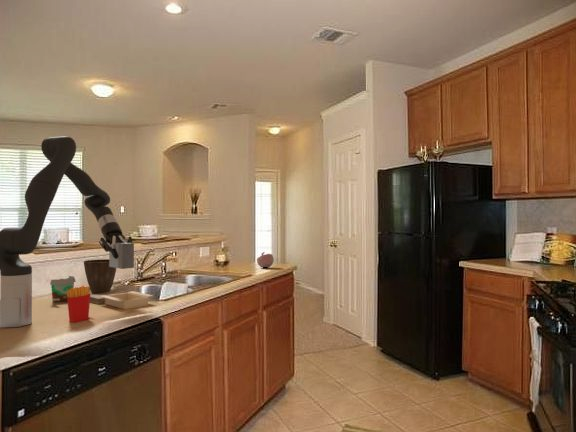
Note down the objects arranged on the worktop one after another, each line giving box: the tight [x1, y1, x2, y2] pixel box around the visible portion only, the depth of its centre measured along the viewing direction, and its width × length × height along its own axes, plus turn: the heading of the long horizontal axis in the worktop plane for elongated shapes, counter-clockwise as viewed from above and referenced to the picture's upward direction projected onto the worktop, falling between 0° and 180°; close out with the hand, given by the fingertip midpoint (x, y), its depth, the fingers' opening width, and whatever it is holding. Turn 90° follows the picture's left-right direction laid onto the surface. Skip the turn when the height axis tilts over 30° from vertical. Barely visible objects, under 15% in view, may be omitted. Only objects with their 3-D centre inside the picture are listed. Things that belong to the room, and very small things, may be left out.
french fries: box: [66, 285, 91, 323], centre depth 157 cm, size 8×4×12 cm, turn 153°
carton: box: [99, 290, 154, 310], centre depth 182 cm, size 15×16×4 cm
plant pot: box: [83, 258, 117, 295], centre depth 210 cm, size 15×15×16 cm
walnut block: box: [90, 291, 120, 305], centre depth 191 cm, size 12×12×3 cm
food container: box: [49, 275, 76, 303], centre depth 194 cm, size 12×6×10 cm, turn 168°
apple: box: [256, 251, 275, 268], centre depth 313 cm, size 12×12×12 cm
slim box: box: [108, 242, 135, 270], centre depth 184 cm, size 5×11×10 cm, turn 48°
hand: (123, 257), depth 183 cm, fingers closed on slim box, 5 cm apart
